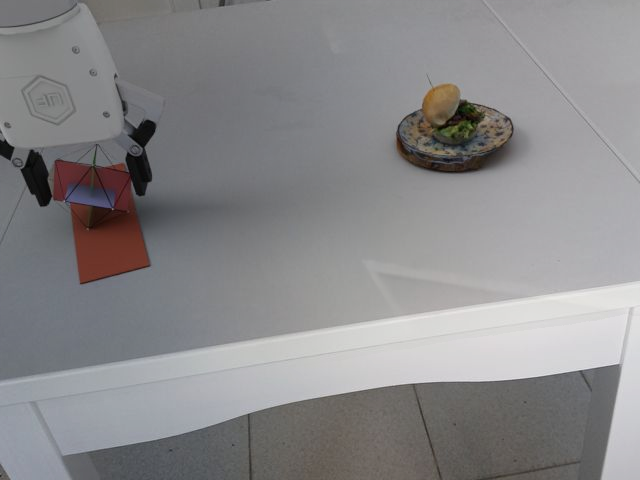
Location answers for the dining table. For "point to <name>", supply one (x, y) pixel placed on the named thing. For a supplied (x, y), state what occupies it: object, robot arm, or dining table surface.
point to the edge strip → (107, 240)
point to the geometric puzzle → (90, 185)
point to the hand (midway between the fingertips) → (95, 193)
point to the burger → (451, 131)
